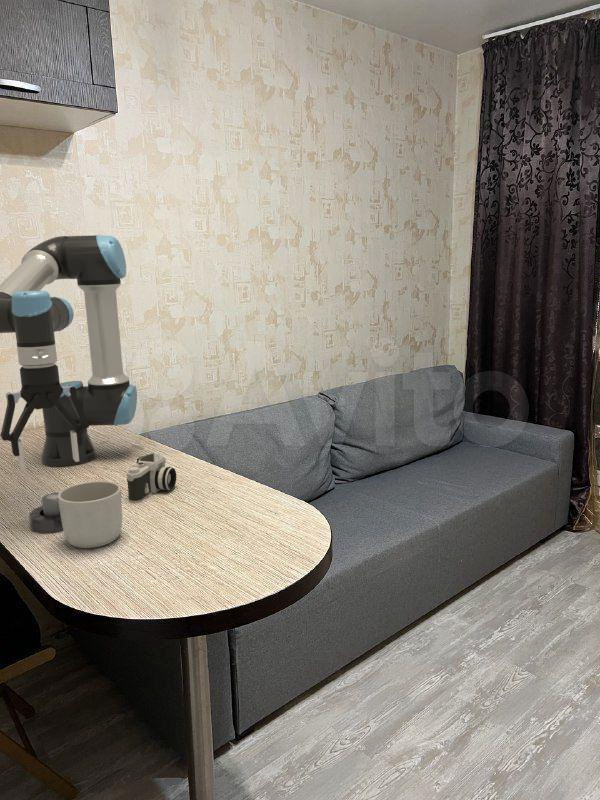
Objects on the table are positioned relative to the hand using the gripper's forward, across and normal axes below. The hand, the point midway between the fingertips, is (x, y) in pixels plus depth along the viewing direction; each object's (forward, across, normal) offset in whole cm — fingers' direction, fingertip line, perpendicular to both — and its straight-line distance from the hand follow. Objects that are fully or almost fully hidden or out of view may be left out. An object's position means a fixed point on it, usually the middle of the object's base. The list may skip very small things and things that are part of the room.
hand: (50, 464), depth 136 cm
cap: (+13, 0, 0) cm, 13 cm away
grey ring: (+14, 0, 0) cm, 14 cm away
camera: (+14, +25, +6) cm, 29 cm away
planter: (+14, +5, -14) cm, 20 cm away
